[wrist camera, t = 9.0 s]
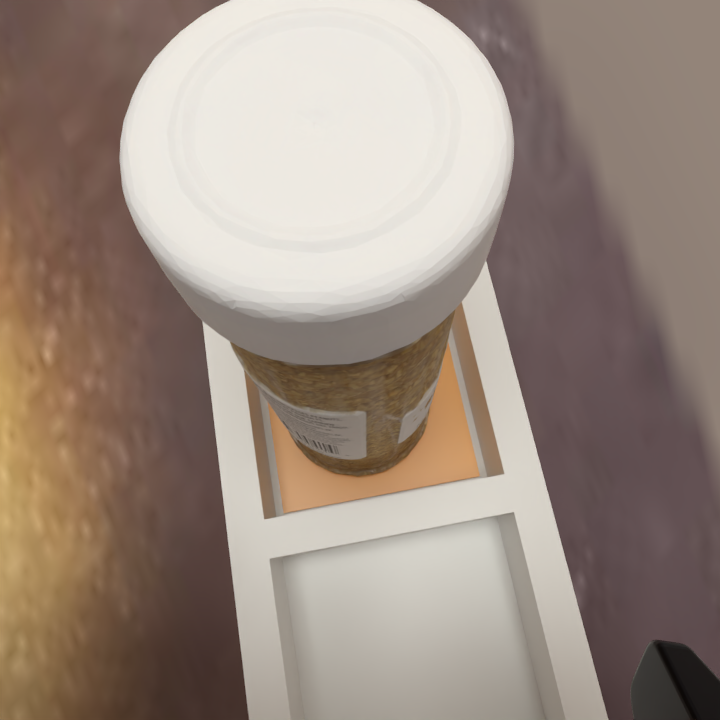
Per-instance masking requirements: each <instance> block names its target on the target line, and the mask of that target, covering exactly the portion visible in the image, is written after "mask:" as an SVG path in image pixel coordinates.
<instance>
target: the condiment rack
mask: <svg viewBox="0 0 720 720" xmlns="http://www.w3.org/2000/svg"><path fill="white" fill-rule="evenodd" d="M203 330H204V338H205V347H206V355H207V364H208V372H209V381H210V390H211V398H212V407H213V415H214V424H215V432H216V441H217V450H218V458H219V467H220V475H221V484H222V492H223V501H224V509H225V518H226V527H227V535H228V544H229V552H230V561H231V569H232V578H233V586H234V595H235V604H236V612H237V621H238V629H239V638H240V646H241V655H242V664H243V672H244V681H245V689H246V698H247V706H248V715H249V720H608V717H607V713H606V709H605V705H604V702H603V698H602V694H601V690H600V687H599V683H598V679H597V675H596V672H595V668H594V664H593V660H592V657H591V653H590V649H589V645H588V642H587V638H586V634H585V630H584V627H583V623H582V619H581V615H580V612H579V608H578V604H577V600H576V597H575V593H574V589H573V585H572V582H571V578H570V574H569V570H568V567H567V563H566V559H565V555H564V552H563V548H562V544H561V540H560V537H559V533H558V529H557V525H556V522H555V518H554V514H553V510H552V507H551V503H550V499H549V495H548V491H547V488H546V484H545V480H544V476H543V473H542V469H541V465H540V461H539V458H538V454H537V450H536V446H535V443H534V439H533V435H532V431H531V428H530V424H529V420H528V416H527V413H526V409H525V405H524V401H523V398H522V394H521V390H520V386H519V383H518V379H517V375H516V371H515V368H514V364H513V360H512V356H511V353H510V349H509V345H508V341H507V338H506V334H505V330H504V326H503V323H502V319H501V315H500V311H499V308H498V304H497V300H496V296H495V293H494V289H493V285H492V281H491V278H490V274H489V270H488V266H487V263H486V261H485V264H484V266H483V268H482V270H481V273H480V275H479V277H478V279H477V280H476V282H475V283H474V285H473V286H472V288H471V289H470V291H469V292H468V294H467V296H466V297H465V298H464V299H463V301H462V302H461V303H460V304H459V305H458V307H457V308H456V310H455V314H454V319H453V323H452V325H451V329H450V333H449V339H448V344H447V349H446V351H445V354H444V358H443V363H442V368H441V373H440V376H439V379H438V383H437V386H436V389H435V392H434V396H433V399H432V403H431V405H430V409H429V416H428V420H427V425H426V429H425V431H424V434H423V436H422V437H421V439H420V440H419V442H418V443H417V445H416V446H415V447H414V448H413V449H412V451H411V452H410V454H409V455H408V456H407V457H406V458H404V459H403V460H402V461H400V462H399V463H398V464H396V465H395V466H393V467H392V468H390V469H388V470H386V471H383V472H380V473H376V474H371V475H364V476H359V477H357V476H353V475H343V474H336V473H333V472H331V471H328V470H326V469H324V468H322V467H320V466H318V465H316V464H315V463H313V462H312V461H311V460H309V459H308V458H307V457H306V456H305V455H304V454H303V452H302V451H301V450H300V449H299V448H298V447H297V446H296V444H295V442H294V440H293V439H292V437H291V435H290V433H289V431H288V430H287V428H286V427H285V426H284V424H283V423H282V422H281V420H280V419H279V417H278V416H277V415H276V413H275V412H274V410H273V409H272V407H271V406H270V404H269V403H268V402H267V400H266V399H265V397H264V396H263V395H262V393H261V392H260V391H259V389H258V388H257V386H256V385H255V384H254V382H253V381H252V380H251V378H250V377H249V375H248V374H247V373H246V371H245V370H244V369H243V367H242V365H241V364H240V362H239V360H238V358H237V357H236V355H235V353H234V351H233V349H232V347H231V344H230V341H229V340H227V339H226V338H224V337H223V336H221V335H220V334H218V333H217V332H216V331H214V330H213V329H212V328H210V327H209V326H208V325H207V324H205V323H204V322H203Z"/></svg>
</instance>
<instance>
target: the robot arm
mask: <svg viewBox="0 0 720 720" xmlns="http://www.w3.org/2000/svg"><path fill="white" fill-rule="evenodd" d="M631 704H632V711H633V718H634V720H720V680H719V679H718V678H717V676H716V675H715V674H714V673H713V672H712V671H711V670H710V669H709V668H708V667H707V666H706V665H705V663H704V662H703V661H702V660H701V659H700V658H699V657H698V656H697V655H696V654H695V653H694V651H692V650H691V649H690V648H689V647H688V646H686V645H684V644H681V643H676V642H669V641H662V640H653V641H651V642H650V643H649V644H648V646H647V647H646V650H645V652H644V654H643V656H642V659H641V661H640V663H639V666H638V668H637V670H636V673H635V675H634V677H633V680H632V684H631Z"/></svg>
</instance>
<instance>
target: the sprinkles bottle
mask: <svg viewBox="0 0 720 720" xmlns="http://www.w3.org/2000/svg"><path fill="white" fill-rule="evenodd" d="M513 160H514V137H513V127H512V119H511V115H510V112H509V108H508V104H507V100H506V97H505V94H504V91H503V89H502V86H501V83H500V82H499V80H498V78H497V77H496V74H495V72H494V70H493V69H492V67H491V65H490V64H489V62H488V60H487V59H486V58H485V56H484V55H483V54H482V53H481V52H480V50H479V49H478V48H477V47H476V45H475V44H474V43H473V42H472V41H471V39H470V38H469V37H467V36H466V35H465V34H464V33H463V32H462V31H461V30H460V29H458V28H457V27H456V26H455V25H454V24H453V23H452V22H450V21H449V20H447V19H446V18H445V17H443V16H442V15H440V14H439V13H438V12H436V11H435V10H433V9H432V8H430V7H428V6H426V5H424V4H423V3H421V2H419V1H417V0H230V1H228V2H226V3H224V4H222V5H220V6H217V7H216V8H214V9H212V10H211V11H209V12H207V13H205V14H204V15H202V16H201V17H199V18H198V19H197V20H195V21H194V22H193V23H191V24H190V25H189V26H187V27H186V28H185V29H183V30H182V31H181V32H180V33H179V34H178V35H177V36H176V37H174V38H173V39H172V40H171V41H170V42H169V44H168V45H167V46H166V47H165V48H164V49H163V50H162V51H161V52H160V53H159V54H158V55H157V56H156V57H155V58H154V60H153V61H152V63H151V64H150V66H149V67H148V69H147V70H146V72H145V73H144V75H143V76H142V78H141V79H140V82H139V84H138V86H137V88H136V90H135V92H134V94H133V96H132V99H131V102H130V105H129V108H128V111H127V113H126V116H125V119H124V123H123V129H122V135H121V142H120V169H121V179H122V189H123V193H124V196H125V200H126V204H127V206H128V209H129V211H130V213H131V216H132V218H133V220H134V223H135V225H136V227H137V230H138V231H139V233H140V235H141V236H142V238H143V240H144V241H145V243H146V244H147V246H148V248H149V249H150V251H151V252H152V254H153V256H154V257H155V259H156V260H157V262H158V264H159V265H160V267H161V268H162V270H163V272H164V273H165V275H166V276H167V277H168V279H169V280H170V281H171V283H172V284H173V285H174V287H175V288H176V289H177V291H178V292H179V293H180V295H181V296H182V298H183V299H184V300H185V302H186V303H187V304H188V306H189V307H190V308H191V309H192V311H193V312H194V313H195V314H196V315H197V316H198V317H199V318H200V319H201V320H202V321H203V322H204V323H205V324H207V325H208V326H209V327H210V328H212V329H213V330H214V331H216V332H217V333H218V334H220V335H221V336H223V337H224V338H226V339H227V340H229V341H230V344H231V347H232V349H233V351H234V353H235V355H236V357H237V358H238V360H239V362H240V364H241V365H242V367H243V369H244V370H245V371H246V373H247V374H248V375H249V377H250V378H251V380H252V381H253V382H254V384H255V385H256V386H257V388H258V389H259V391H260V392H261V393H262V395H263V396H264V397H265V399H266V400H267V402H268V403H269V404H270V406H271V407H272V409H273V410H274V412H275V413H276V415H277V416H278V417H279V419H280V420H281V422H282V423H283V424H284V426H285V427H286V428H287V430H288V431H289V433H290V435H291V437H292V439H293V440H294V442H295V444H296V446H297V447H298V448H299V449H300V450H301V451H302V452H303V454H304V455H305V456H306V457H307V458H308V459H309V460H311V461H312V462H313V463H315V464H316V465H318V466H320V467H322V468H324V469H326V470H328V471H331V472H333V473H336V474H343V475H353V476H357V477H359V476H364V475H371V474H376V473H380V472H383V471H386V470H388V469H390V468H392V467H393V466H395V465H396V464H398V463H399V462H400V461H402V460H403V459H404V458H406V457H407V456H408V455H409V454H410V452H411V451H412V449H413V448H414V447H415V446H416V445H417V443H418V442H419V440H420V439H421V437H422V436H423V434H424V431H425V429H426V425H427V420H428V416H429V409H430V405H431V403H432V399H433V396H434V392H435V389H436V386H437V383H438V379H439V376H440V373H441V368H442V363H443V358H444V354H445V351H446V349H447V344H448V339H449V333H450V329H451V325H452V323H453V319H454V314H455V310H456V308H457V307H458V305H459V304H460V303H461V302H462V301H463V299H464V298H465V297H466V296H467V294H468V292H469V291H470V289H471V288H472V286H473V285H474V283H475V282H476V280H477V279H478V277H479V275H480V273H481V270H482V268H483V266H484V264H485V261H486V259H487V256H488V253H489V251H490V248H491V245H492V242H493V239H494V236H495V233H496V230H497V226H498V223H499V220H500V216H501V213H502V209H503V206H504V203H505V199H506V196H507V192H508V187H509V183H510V178H511V172H512V166H513Z"/></svg>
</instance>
